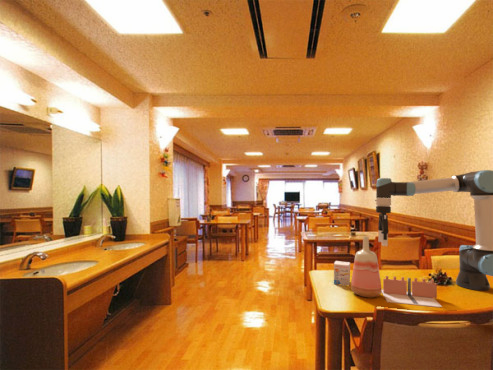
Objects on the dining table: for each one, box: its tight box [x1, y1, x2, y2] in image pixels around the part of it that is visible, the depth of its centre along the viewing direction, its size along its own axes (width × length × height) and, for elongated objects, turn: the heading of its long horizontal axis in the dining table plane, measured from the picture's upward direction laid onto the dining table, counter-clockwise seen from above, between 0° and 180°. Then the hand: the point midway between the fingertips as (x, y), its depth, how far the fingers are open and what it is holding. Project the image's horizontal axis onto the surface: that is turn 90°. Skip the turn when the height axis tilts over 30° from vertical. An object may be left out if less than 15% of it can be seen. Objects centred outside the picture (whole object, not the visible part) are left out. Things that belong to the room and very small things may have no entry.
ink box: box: [333, 260, 351, 286], centre depth 167 cm, size 9×8×12 cm
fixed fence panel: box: [407, 277, 438, 299], centre depth 145 cm, size 13×1×9 cm, turn 74°
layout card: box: [381, 288, 443, 308], centre depth 143 cm, size 23×18×1 cm
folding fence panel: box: [382, 275, 408, 295], centre depth 148 cm, size 11×1×9 cm, turn 74°
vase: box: [350, 235, 383, 299], centre depth 148 cm, size 14×14×30 cm
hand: (382, 243), depth 161 cm, fingers open, 13 cm apart
